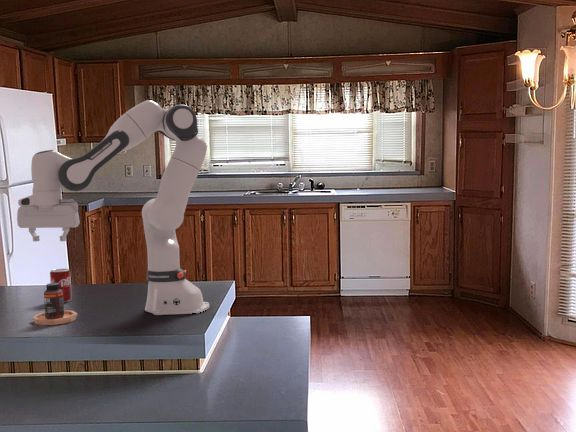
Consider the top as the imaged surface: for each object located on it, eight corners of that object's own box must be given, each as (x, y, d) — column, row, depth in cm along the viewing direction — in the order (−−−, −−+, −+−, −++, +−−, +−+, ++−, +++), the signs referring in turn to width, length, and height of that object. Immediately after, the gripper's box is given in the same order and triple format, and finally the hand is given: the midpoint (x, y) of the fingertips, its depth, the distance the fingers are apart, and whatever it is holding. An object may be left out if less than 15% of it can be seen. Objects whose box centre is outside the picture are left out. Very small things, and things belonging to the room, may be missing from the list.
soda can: (75, 299, 234) (73, 268, 233) (66, 303, 227) (64, 271, 226) (57, 299, 235) (55, 268, 234) (47, 303, 228) (46, 271, 226)
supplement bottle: (64, 314, 206) (63, 281, 205) (63, 318, 200) (62, 284, 199) (45, 316, 204) (44, 282, 203) (44, 320, 198) (42, 286, 197)
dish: (82, 315, 208) (82, 310, 208) (64, 325, 195) (64, 320, 195) (46, 315, 209) (46, 310, 209) (26, 325, 196) (25, 319, 196)
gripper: (81, 198, 203) (83, 239, 204) (23, 199, 205) (26, 240, 206) (73, 199, 196) (75, 242, 198) (13, 200, 199) (15, 242, 200)
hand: (49, 241), depth 202 cm, fingers open, 8 cm apart
